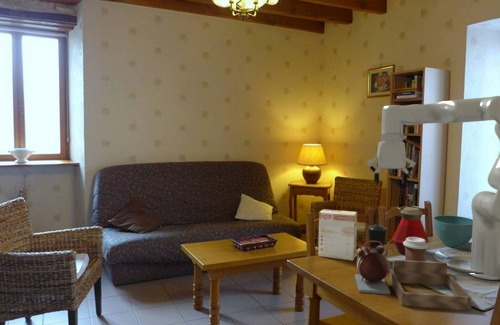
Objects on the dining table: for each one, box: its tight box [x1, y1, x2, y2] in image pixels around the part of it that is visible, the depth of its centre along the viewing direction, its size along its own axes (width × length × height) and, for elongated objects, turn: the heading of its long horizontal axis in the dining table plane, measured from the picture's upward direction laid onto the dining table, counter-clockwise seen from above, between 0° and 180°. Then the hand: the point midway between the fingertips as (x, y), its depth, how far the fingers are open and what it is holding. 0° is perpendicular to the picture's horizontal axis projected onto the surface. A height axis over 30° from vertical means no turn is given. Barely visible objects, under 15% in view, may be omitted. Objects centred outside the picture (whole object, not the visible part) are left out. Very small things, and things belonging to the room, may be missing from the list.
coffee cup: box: [403, 237, 429, 261], centre depth 155 cm, size 9×9×12 cm
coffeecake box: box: [317, 208, 358, 261], centre depth 169 cm, size 15×7×20 cm, turn 66°
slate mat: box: [354, 273, 391, 295], centre depth 139 cm, size 10×14×1 cm
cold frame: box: [389, 259, 472, 312], centre depth 131 cm, size 20×20×8 cm
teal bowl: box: [433, 214, 473, 249], centre depth 187 cm, size 18×18×12 cm
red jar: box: [391, 206, 429, 256], centre depth 174 cm, size 16×14×20 cm
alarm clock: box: [355, 240, 390, 283], centre depth 139 cm, size 11×5×15 cm, turn 92°
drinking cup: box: [367, 212, 388, 250], centre depth 165 cm, size 8×8×20 cm
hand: (390, 183), depth 150 cm, fingers open, 9 cm apart
